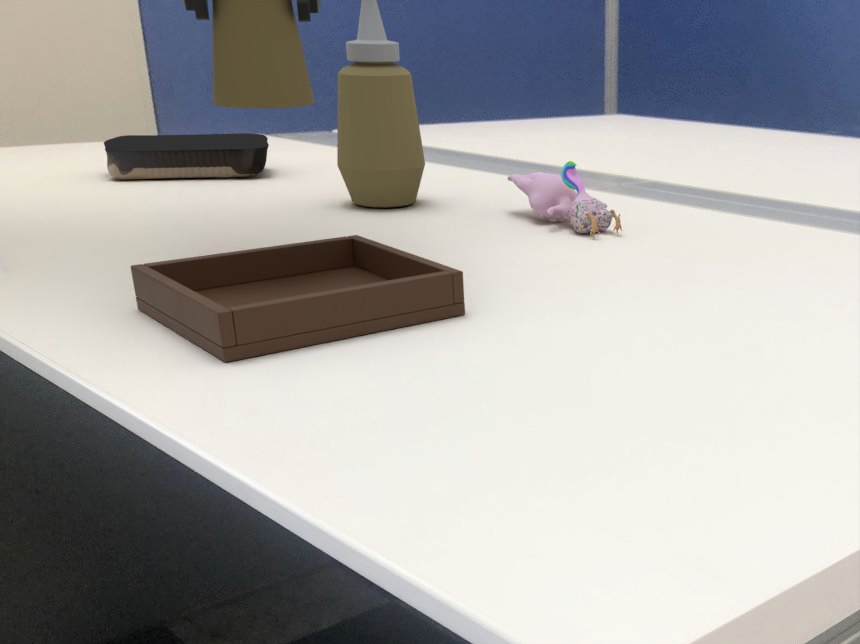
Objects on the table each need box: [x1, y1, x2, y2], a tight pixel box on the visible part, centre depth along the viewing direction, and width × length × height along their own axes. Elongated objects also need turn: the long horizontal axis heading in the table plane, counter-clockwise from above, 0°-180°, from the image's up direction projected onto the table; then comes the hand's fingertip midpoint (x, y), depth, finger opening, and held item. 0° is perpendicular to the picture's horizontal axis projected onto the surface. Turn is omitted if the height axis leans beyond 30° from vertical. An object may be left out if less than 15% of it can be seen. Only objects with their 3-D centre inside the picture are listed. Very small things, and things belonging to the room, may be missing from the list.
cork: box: [211, 0, 315, 109], centre depth 64 cm, size 6×6×11 cm
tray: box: [130, 234, 466, 363], centre depth 67 cm, size 16×14×3 cm
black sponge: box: [103, 132, 270, 180], centre depth 114 cm, size 16×8×4 cm, turn 104°
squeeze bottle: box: [336, 0, 426, 209], centre depth 98 cm, size 8×8×18 cm
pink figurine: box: [507, 160, 624, 238], centre depth 94 cm, size 6×6×15 cm
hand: (253, 9), depth 62 cm, fingers closed on cork, 5 cm apart
